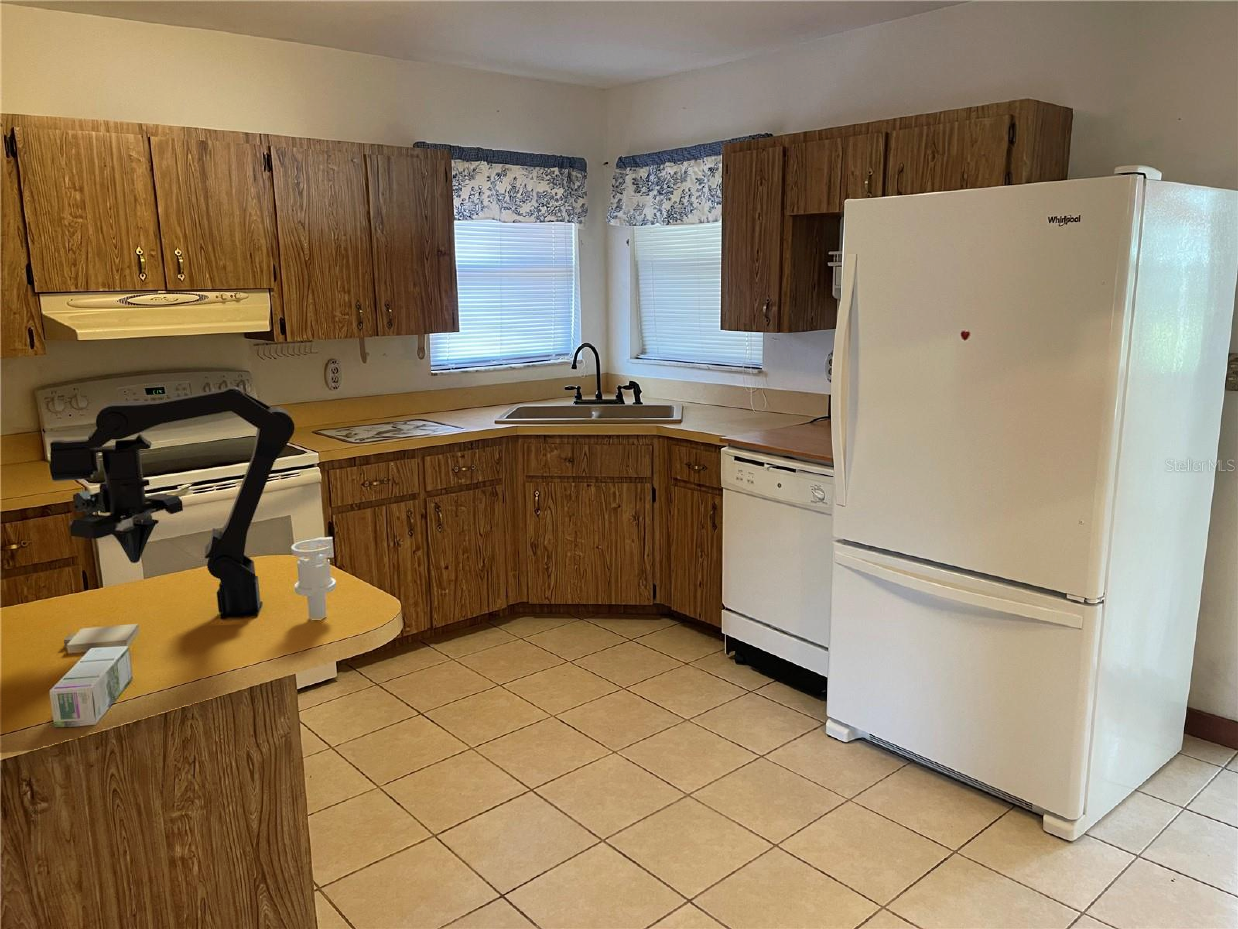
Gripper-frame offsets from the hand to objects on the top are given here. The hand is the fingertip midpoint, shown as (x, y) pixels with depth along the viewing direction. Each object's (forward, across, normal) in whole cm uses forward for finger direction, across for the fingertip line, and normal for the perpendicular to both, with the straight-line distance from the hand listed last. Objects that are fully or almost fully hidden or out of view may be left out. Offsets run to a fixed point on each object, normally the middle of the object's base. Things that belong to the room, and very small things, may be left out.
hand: (134, 562), depth 156 cm
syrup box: (+9, +18, +13) cm, 24 cm away
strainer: (+12, -13, +27) cm, 33 cm away
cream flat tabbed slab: (+12, +8, -1) cm, 14 cm away
